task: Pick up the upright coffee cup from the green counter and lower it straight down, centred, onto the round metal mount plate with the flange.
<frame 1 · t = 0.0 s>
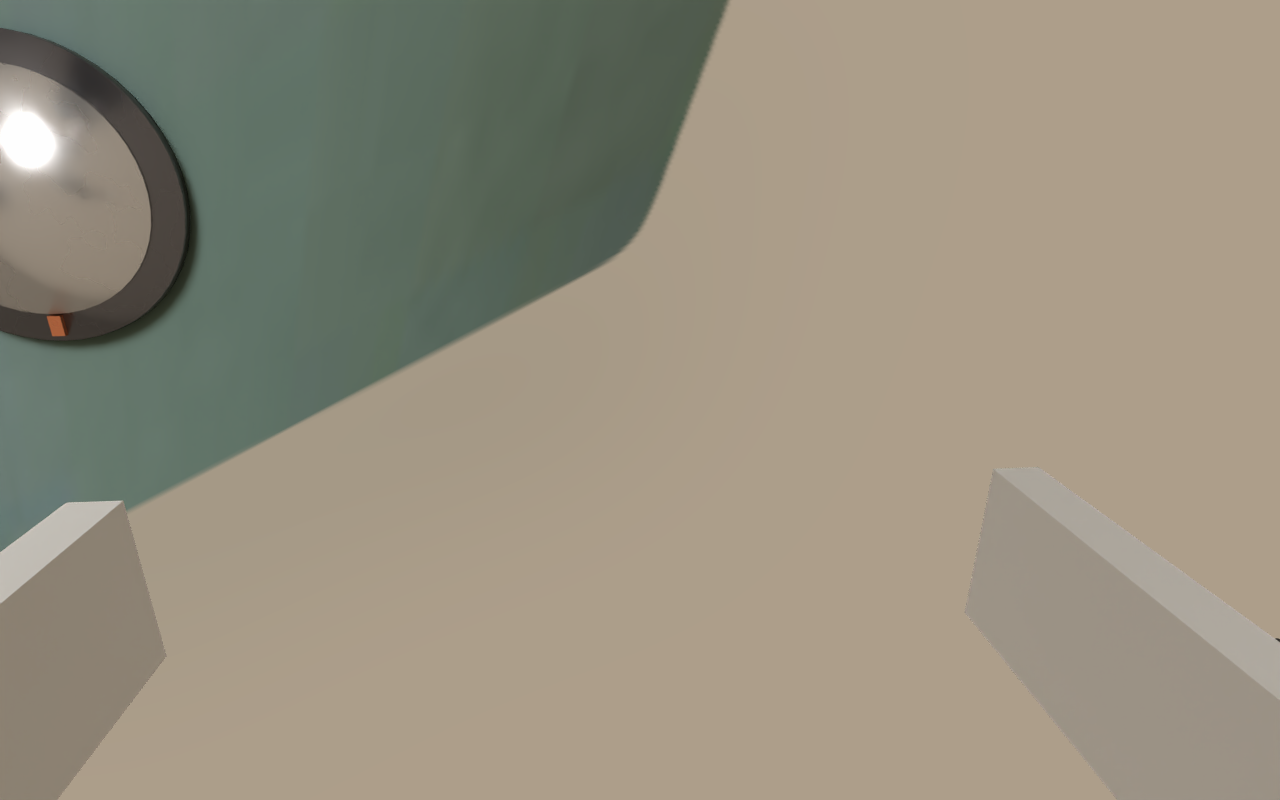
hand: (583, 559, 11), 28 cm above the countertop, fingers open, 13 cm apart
mount plate: (30, 193, 34), on the countertop
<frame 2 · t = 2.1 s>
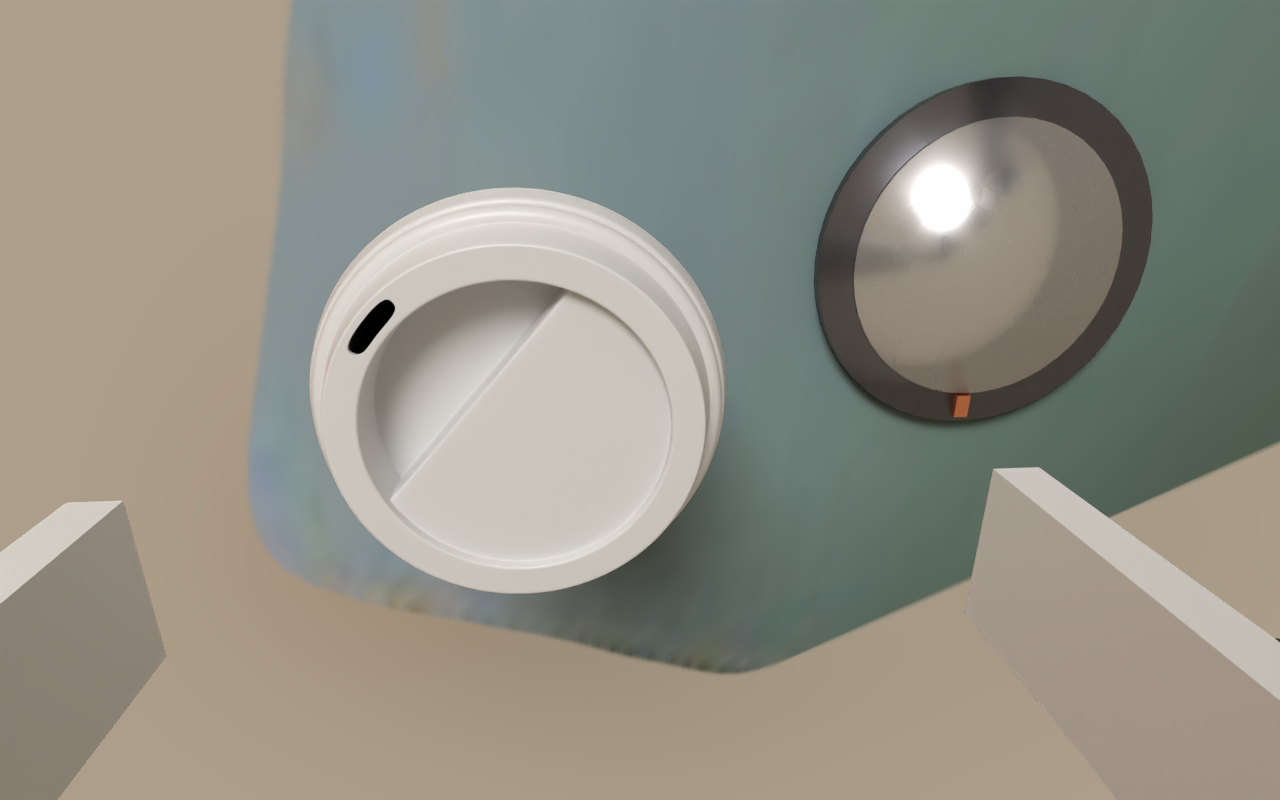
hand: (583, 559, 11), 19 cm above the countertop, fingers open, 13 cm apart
coffee cup: (544, 283, 29), on the countertop
mount plate: (978, 260, 30), on the countertop
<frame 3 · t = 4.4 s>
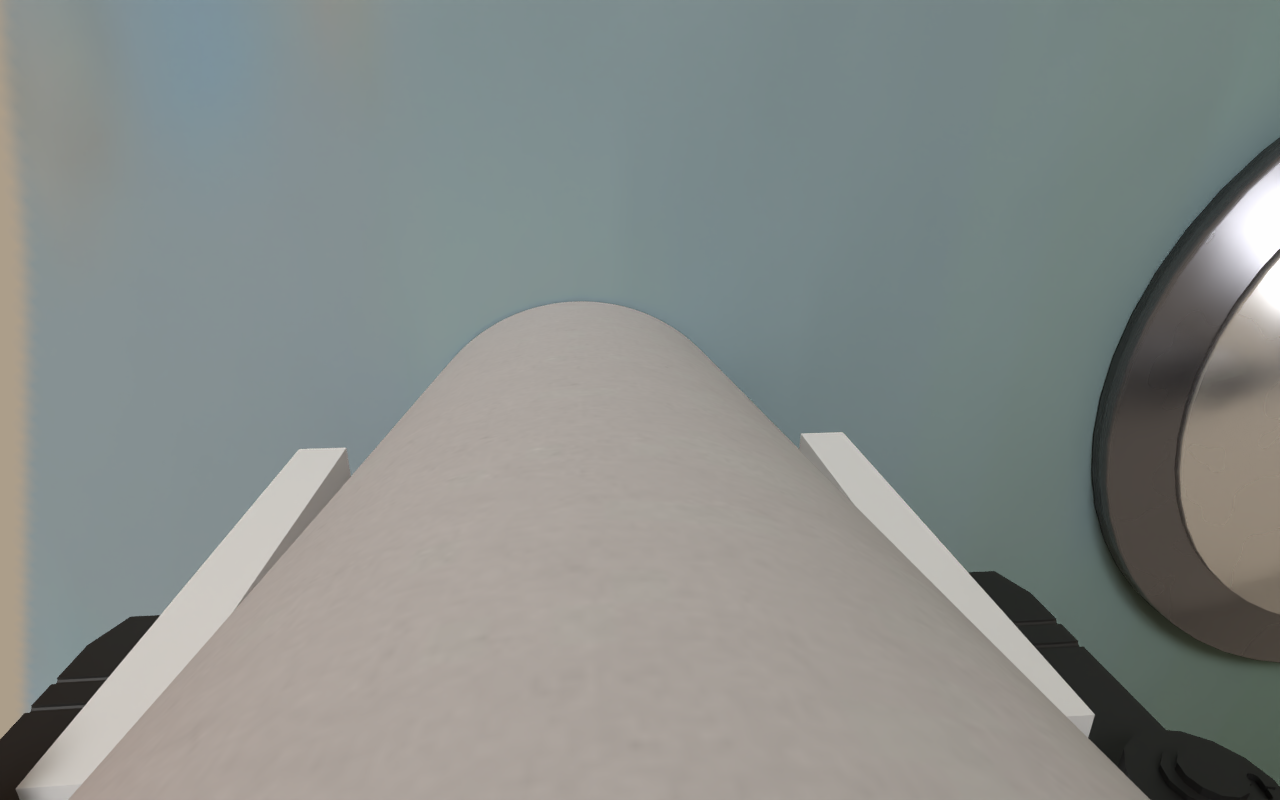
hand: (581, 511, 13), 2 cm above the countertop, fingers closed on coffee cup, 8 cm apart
coffee cup: (582, 452, 15), on the countertop, touching gripper
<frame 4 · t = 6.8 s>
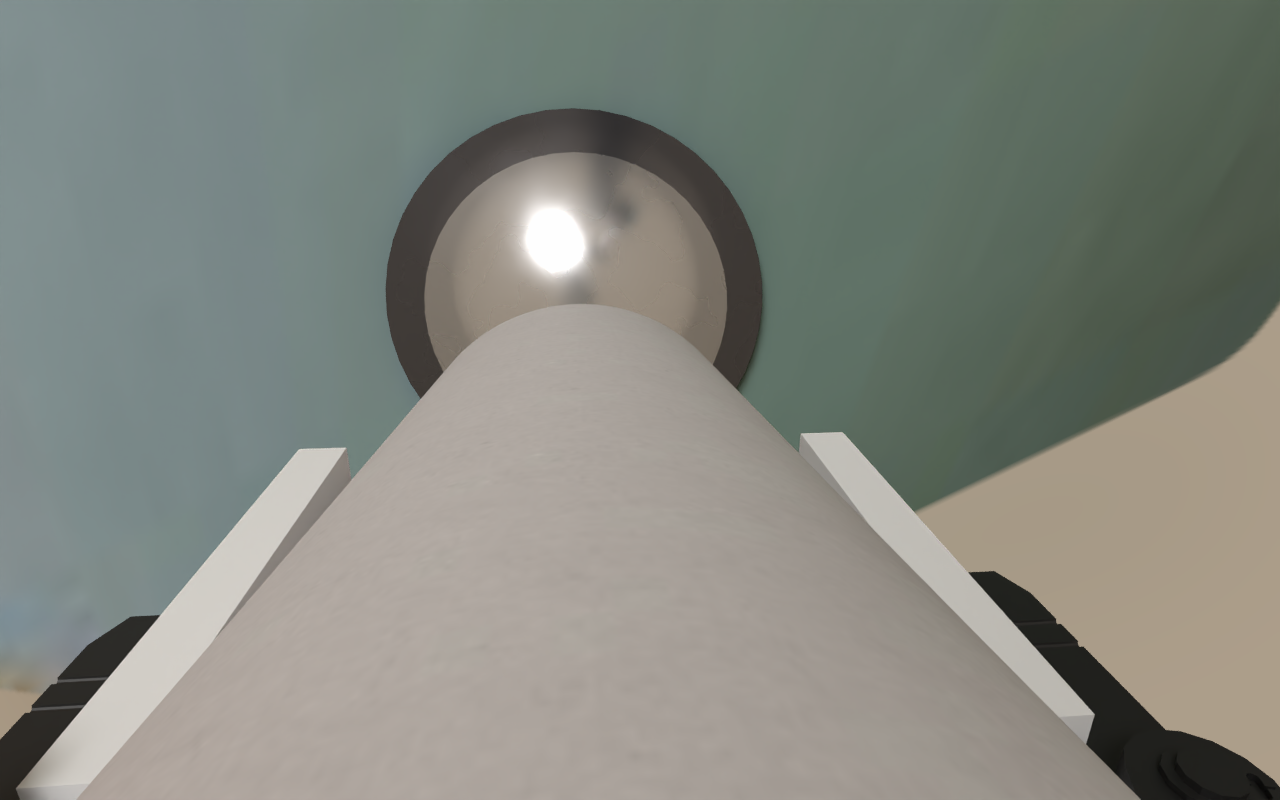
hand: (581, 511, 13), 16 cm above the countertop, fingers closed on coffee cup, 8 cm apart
coffee cup: (582, 454, 15), point 14 cm above the countertop, touching gripper
mount plate: (578, 306, 28), on the countertop
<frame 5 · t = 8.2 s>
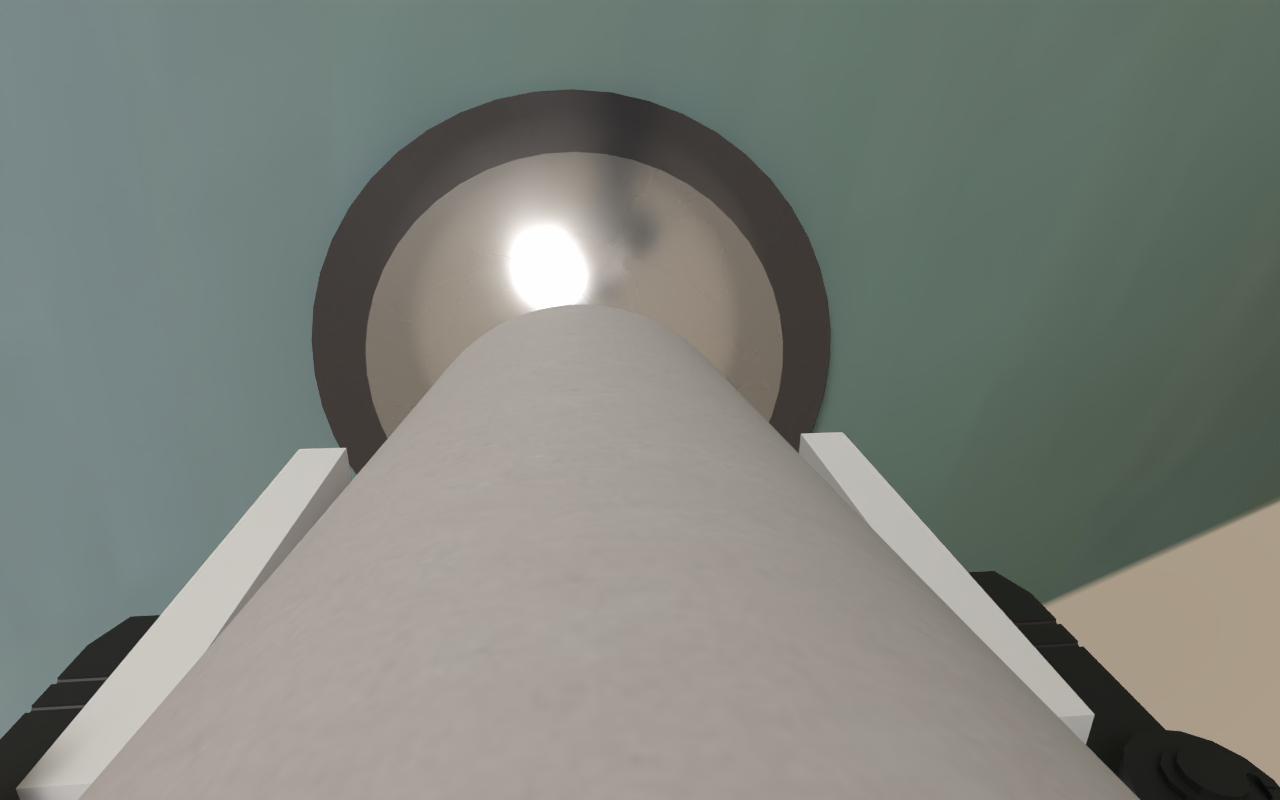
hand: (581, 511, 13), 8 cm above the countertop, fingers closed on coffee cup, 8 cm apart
coffee cup: (582, 455, 15), point 6 cm above the countertop, touching gripper
mount plate: (579, 361, 20), on the countertop
when the fingers open (4 cm above the countertop, at t = 9.4 s): coffee cup drops 1 cm, resting on mount plate.
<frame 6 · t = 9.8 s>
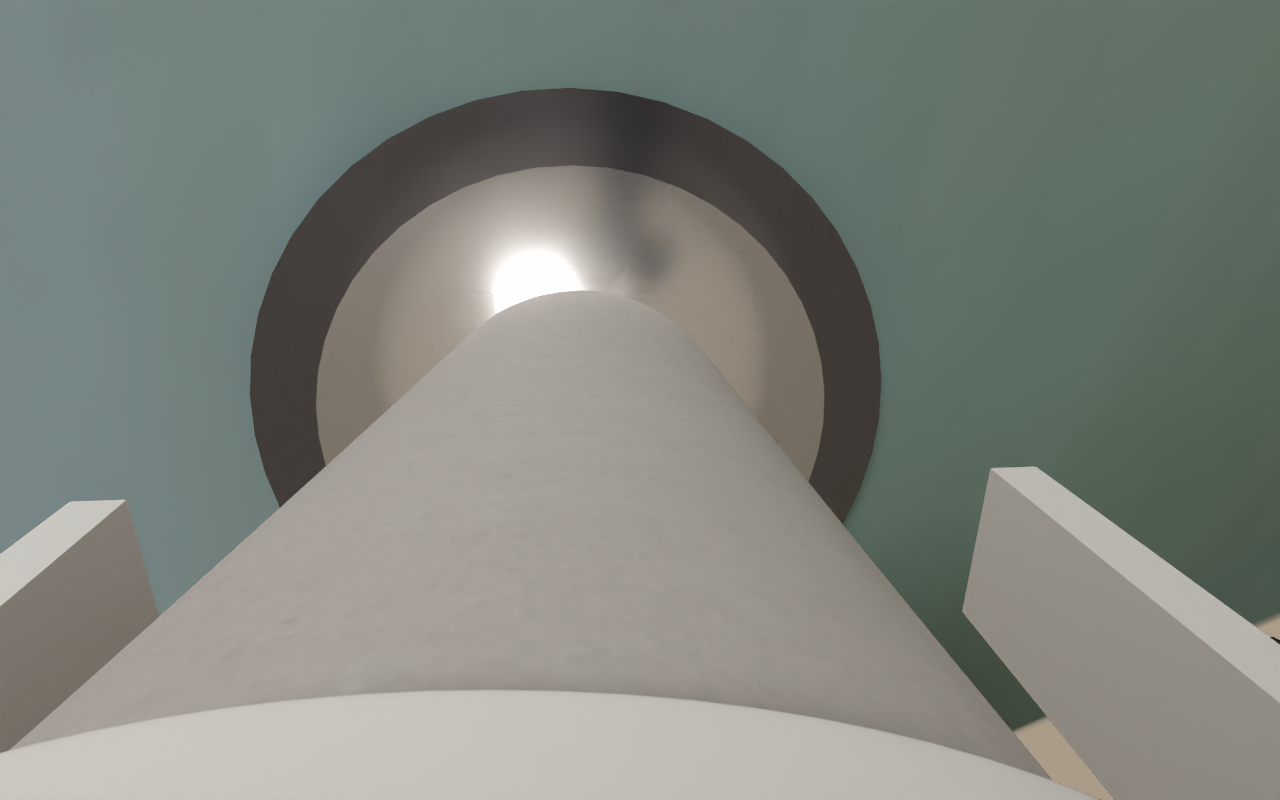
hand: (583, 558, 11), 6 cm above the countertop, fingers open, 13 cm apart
coffee cup: (582, 430, 16), point 1 cm above the countertop, touching mount plate
mount plate: (578, 415, 17), on the countertop
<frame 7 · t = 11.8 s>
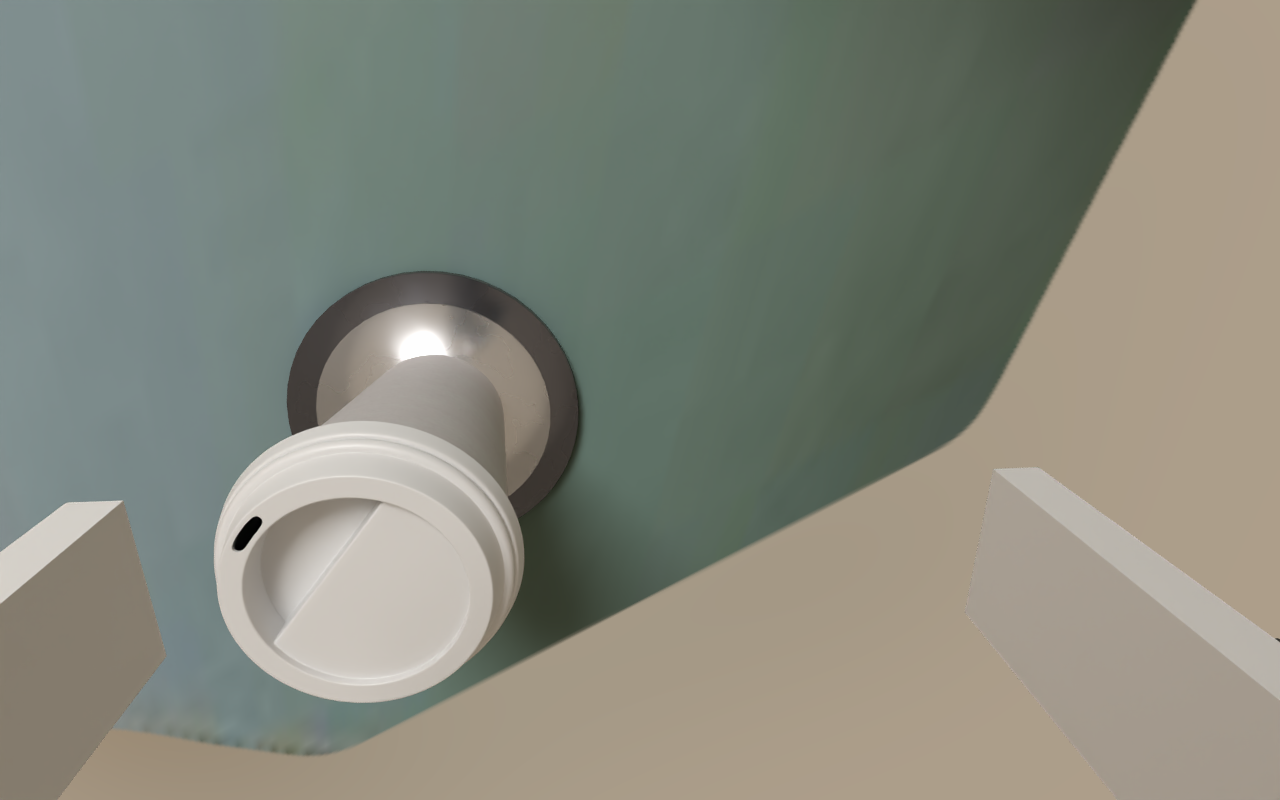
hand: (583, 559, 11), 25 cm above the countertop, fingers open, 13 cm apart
coffee cup: (437, 416, 36), point 1 cm above the countertop, touching mount plate
mount plate: (438, 410, 36), on the countertop
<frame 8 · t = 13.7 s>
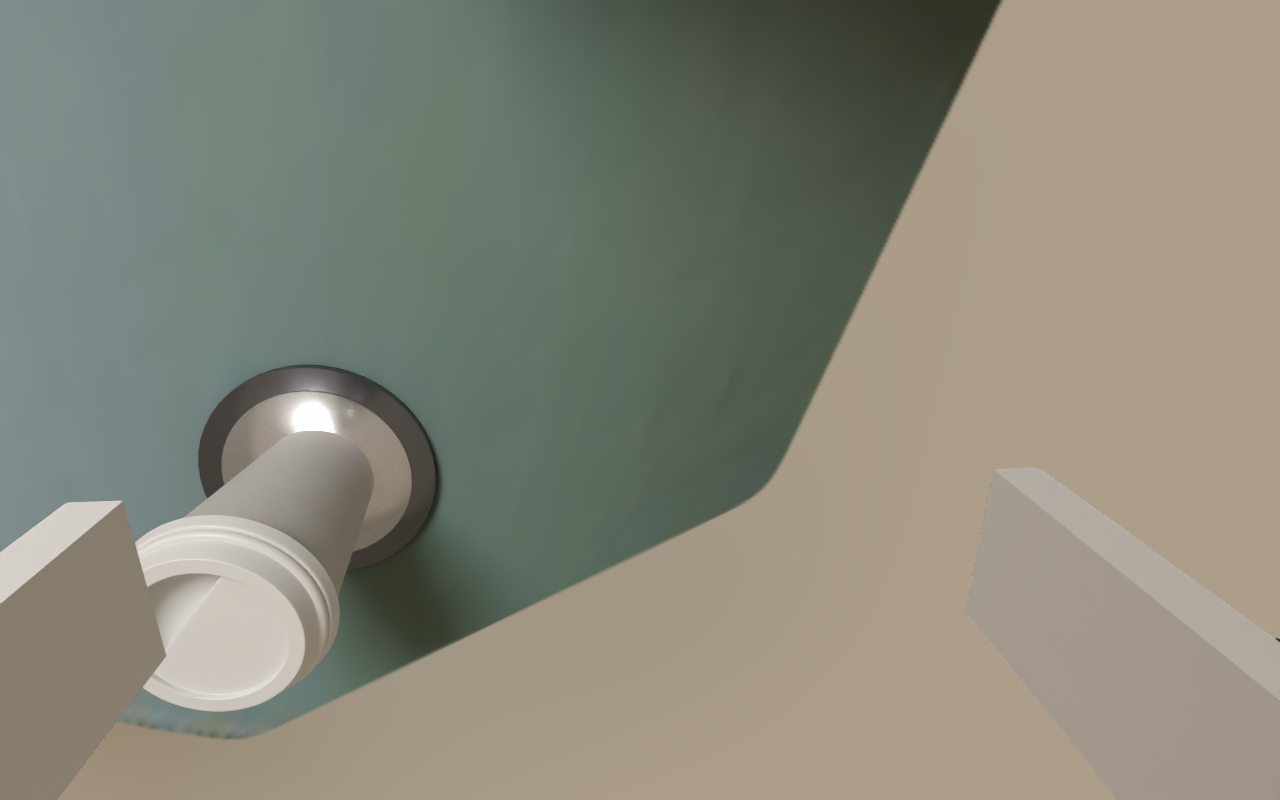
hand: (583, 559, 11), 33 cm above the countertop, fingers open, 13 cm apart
coffee cup: (320, 476, 45), point 1 cm above the countertop, touching mount plate
mount plate: (322, 471, 45), on the countertop
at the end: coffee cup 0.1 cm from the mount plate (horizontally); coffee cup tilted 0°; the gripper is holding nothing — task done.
